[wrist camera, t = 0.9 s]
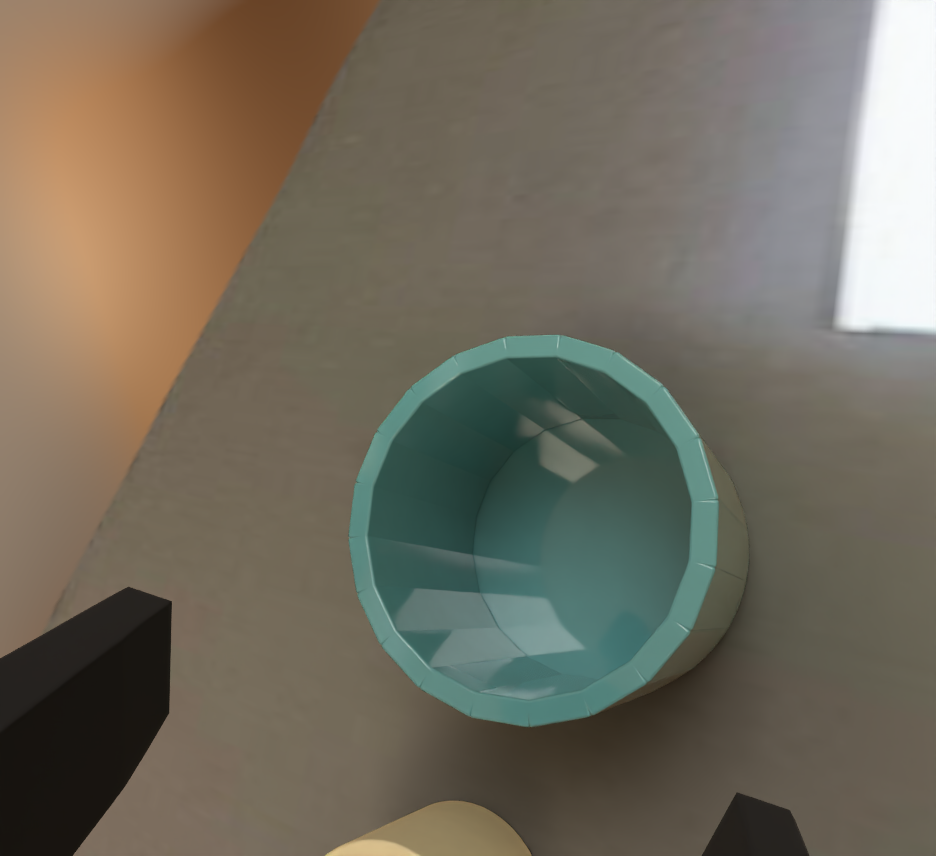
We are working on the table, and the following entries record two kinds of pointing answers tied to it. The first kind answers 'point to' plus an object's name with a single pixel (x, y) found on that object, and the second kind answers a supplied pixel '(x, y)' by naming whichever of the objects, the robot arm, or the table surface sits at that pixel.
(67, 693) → the robot arm
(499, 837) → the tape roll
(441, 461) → the pen holder
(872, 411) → the table surface
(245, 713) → the table surface
